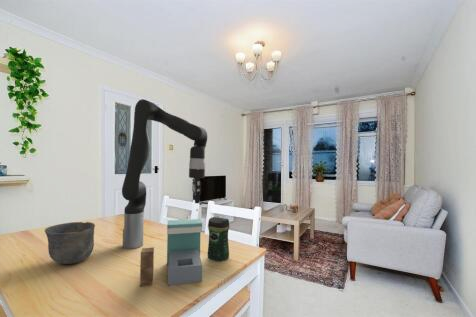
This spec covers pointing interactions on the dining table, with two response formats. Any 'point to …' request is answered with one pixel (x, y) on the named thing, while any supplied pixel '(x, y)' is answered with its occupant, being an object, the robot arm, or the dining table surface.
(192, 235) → the teal two-tone block
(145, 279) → the walnut peg
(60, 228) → the cup
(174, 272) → the socket block
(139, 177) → the robot arm
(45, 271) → the dining table surface
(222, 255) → the coffee jar
